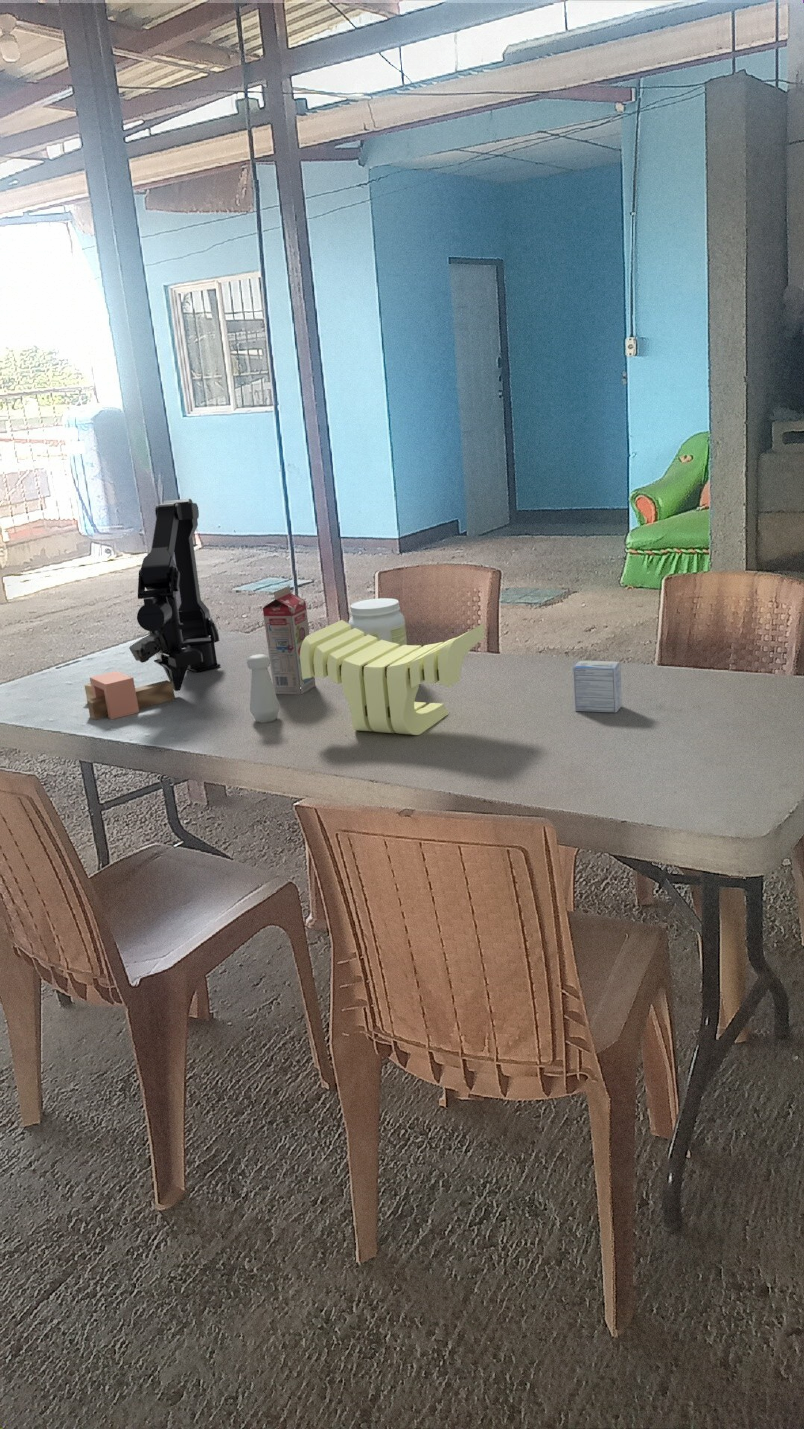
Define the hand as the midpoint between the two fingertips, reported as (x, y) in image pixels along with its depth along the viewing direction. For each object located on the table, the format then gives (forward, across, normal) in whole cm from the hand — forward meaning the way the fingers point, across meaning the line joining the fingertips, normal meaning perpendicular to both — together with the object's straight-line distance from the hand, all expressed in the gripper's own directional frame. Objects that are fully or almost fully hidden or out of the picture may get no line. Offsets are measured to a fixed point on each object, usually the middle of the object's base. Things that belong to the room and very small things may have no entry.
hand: (177, 690), depth 235 cm
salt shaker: (+1, +32, +4) cm, 32 cm away
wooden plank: (+2, 0, -10) cm, 11 cm away
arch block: (+1, 0, -14) cm, 14 cm away
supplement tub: (+2, +28, +35) cm, 45 cm away
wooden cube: (+1, -12, -13) cm, 18 cm away
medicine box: (+2, +79, +48) cm, 92 cm away
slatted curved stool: (+2, +56, +19) cm, 59 cm away
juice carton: (+1, +18, +19) cm, 26 cm away
